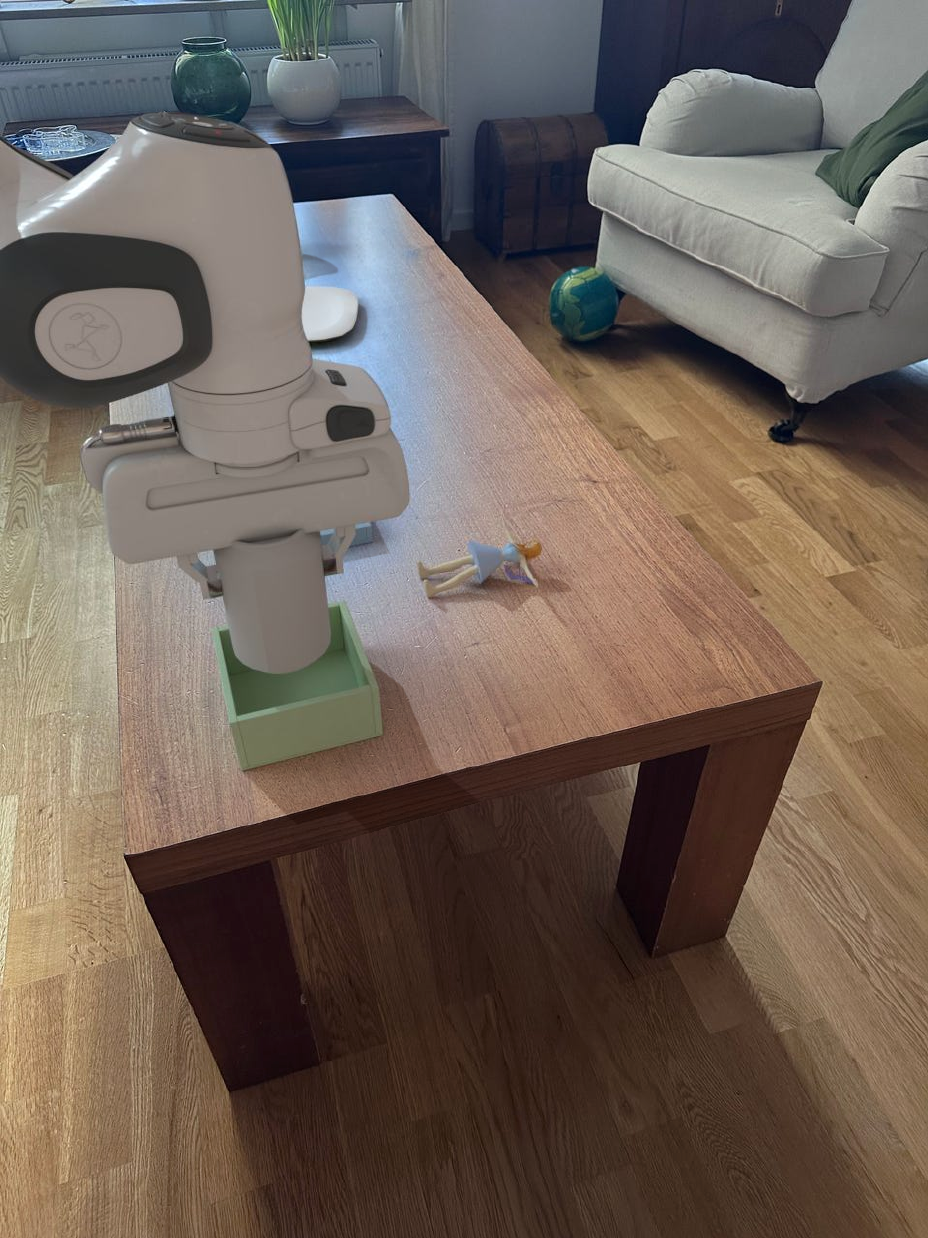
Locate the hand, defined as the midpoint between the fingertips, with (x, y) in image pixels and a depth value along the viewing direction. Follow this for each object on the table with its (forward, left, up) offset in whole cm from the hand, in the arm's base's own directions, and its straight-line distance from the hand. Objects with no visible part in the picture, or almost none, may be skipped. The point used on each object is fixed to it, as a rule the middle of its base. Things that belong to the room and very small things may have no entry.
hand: (274, 581), depth 64 cm
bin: (0, 0, -13) cm, 13 cm away
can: (0, 0, -7) cm, 7 cm away
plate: (+14, +81, -13) cm, 83 cm away
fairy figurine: (+20, +11, -13) cm, 27 cm away
